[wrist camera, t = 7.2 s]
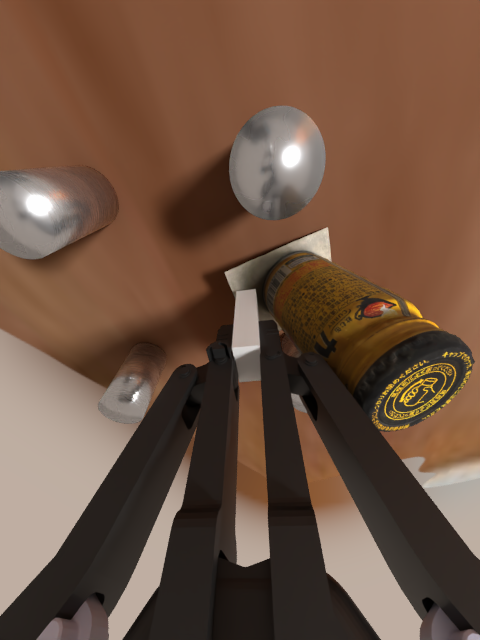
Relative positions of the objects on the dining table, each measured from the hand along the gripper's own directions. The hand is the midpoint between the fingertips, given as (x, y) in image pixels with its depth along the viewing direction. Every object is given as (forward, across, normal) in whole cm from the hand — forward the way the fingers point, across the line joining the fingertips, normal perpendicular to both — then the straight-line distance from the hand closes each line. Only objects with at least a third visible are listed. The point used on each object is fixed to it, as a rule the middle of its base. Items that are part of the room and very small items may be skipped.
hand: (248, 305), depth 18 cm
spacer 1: (+3, -10, +9) cm, 14 cm away
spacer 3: (+3, +2, +9) cm, 10 cm away
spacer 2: (+4, -12, -7) cm, 15 cm away
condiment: (+2, +3, 0) cm, 4 cm away
